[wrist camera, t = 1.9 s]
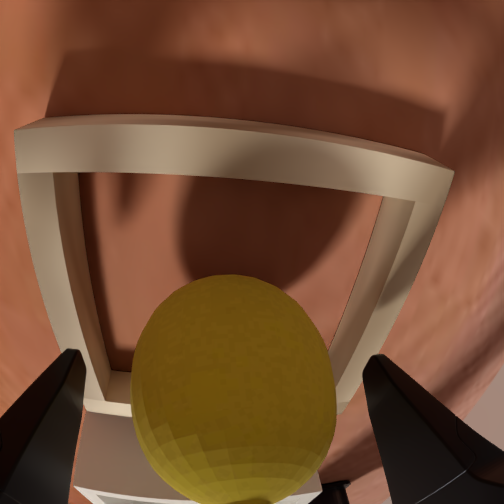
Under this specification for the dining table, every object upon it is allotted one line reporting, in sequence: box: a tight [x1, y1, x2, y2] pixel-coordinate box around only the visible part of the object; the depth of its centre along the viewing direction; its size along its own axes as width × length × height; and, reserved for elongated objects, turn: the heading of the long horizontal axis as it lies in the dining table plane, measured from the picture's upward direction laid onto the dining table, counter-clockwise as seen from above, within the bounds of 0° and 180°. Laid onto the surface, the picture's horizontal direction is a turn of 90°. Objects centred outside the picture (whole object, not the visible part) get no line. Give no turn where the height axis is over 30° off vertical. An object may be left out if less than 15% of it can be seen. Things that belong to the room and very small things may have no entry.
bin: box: [73, 411, 323, 504], centre depth 18 cm, size 13×13×5 cm
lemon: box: [130, 274, 337, 504], centre depth 8 cm, size 6×6×8 cm
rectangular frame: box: [14, 114, 455, 417], centre depth 11 cm, size 12×12×2 cm
